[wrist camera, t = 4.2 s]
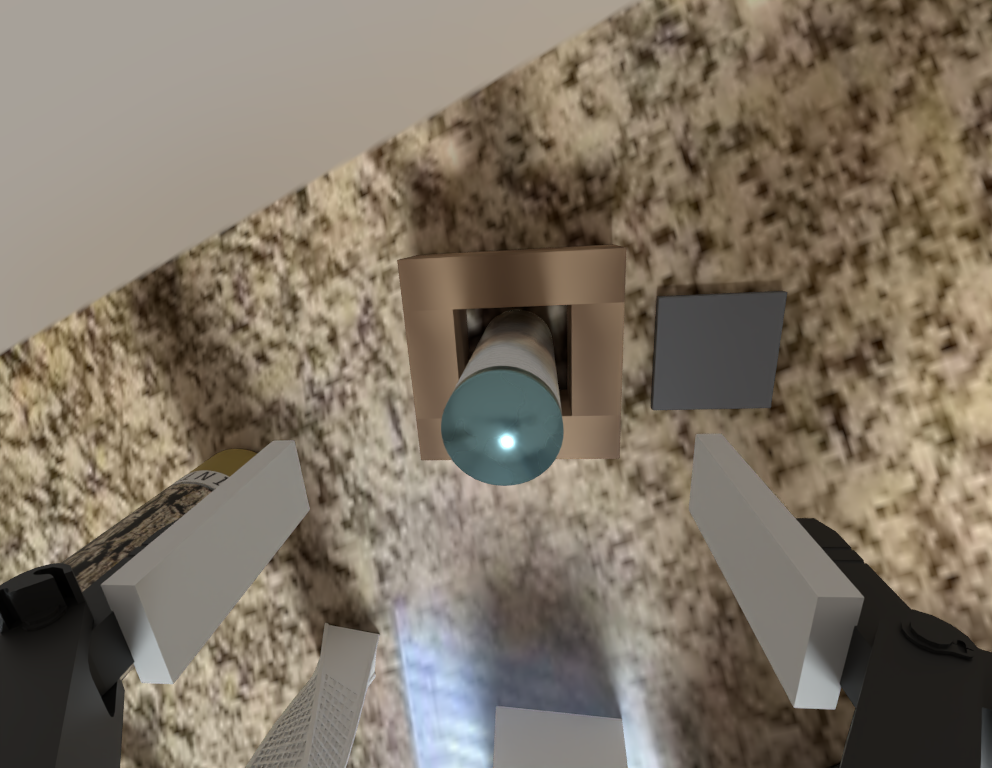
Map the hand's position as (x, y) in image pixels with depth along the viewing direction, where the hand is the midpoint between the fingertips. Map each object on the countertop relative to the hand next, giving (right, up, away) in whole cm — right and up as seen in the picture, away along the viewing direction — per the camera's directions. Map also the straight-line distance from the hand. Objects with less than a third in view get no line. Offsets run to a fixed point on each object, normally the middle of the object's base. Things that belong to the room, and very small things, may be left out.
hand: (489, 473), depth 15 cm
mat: (+15, +5, +17) cm, 23 cm away
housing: (+2, +6, +18) cm, 19 cm away
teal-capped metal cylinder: (+2, +6, +18) cm, 19 cm away
